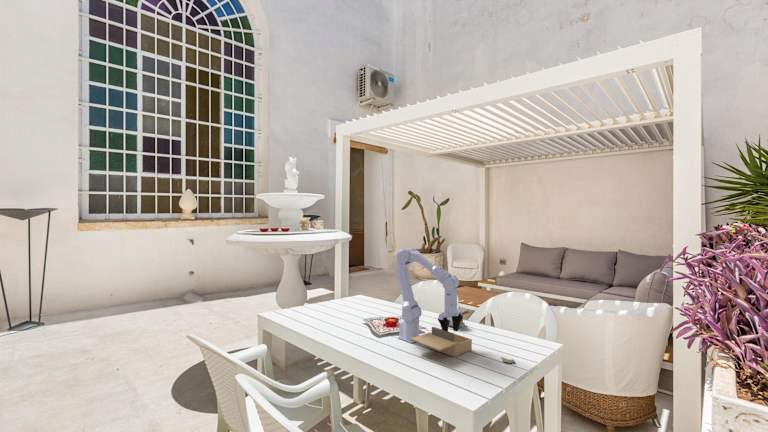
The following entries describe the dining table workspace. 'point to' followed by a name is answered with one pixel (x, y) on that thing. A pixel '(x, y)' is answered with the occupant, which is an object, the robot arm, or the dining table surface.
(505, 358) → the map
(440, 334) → the carton lid
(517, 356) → the dining table surface
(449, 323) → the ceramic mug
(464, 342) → the carton
